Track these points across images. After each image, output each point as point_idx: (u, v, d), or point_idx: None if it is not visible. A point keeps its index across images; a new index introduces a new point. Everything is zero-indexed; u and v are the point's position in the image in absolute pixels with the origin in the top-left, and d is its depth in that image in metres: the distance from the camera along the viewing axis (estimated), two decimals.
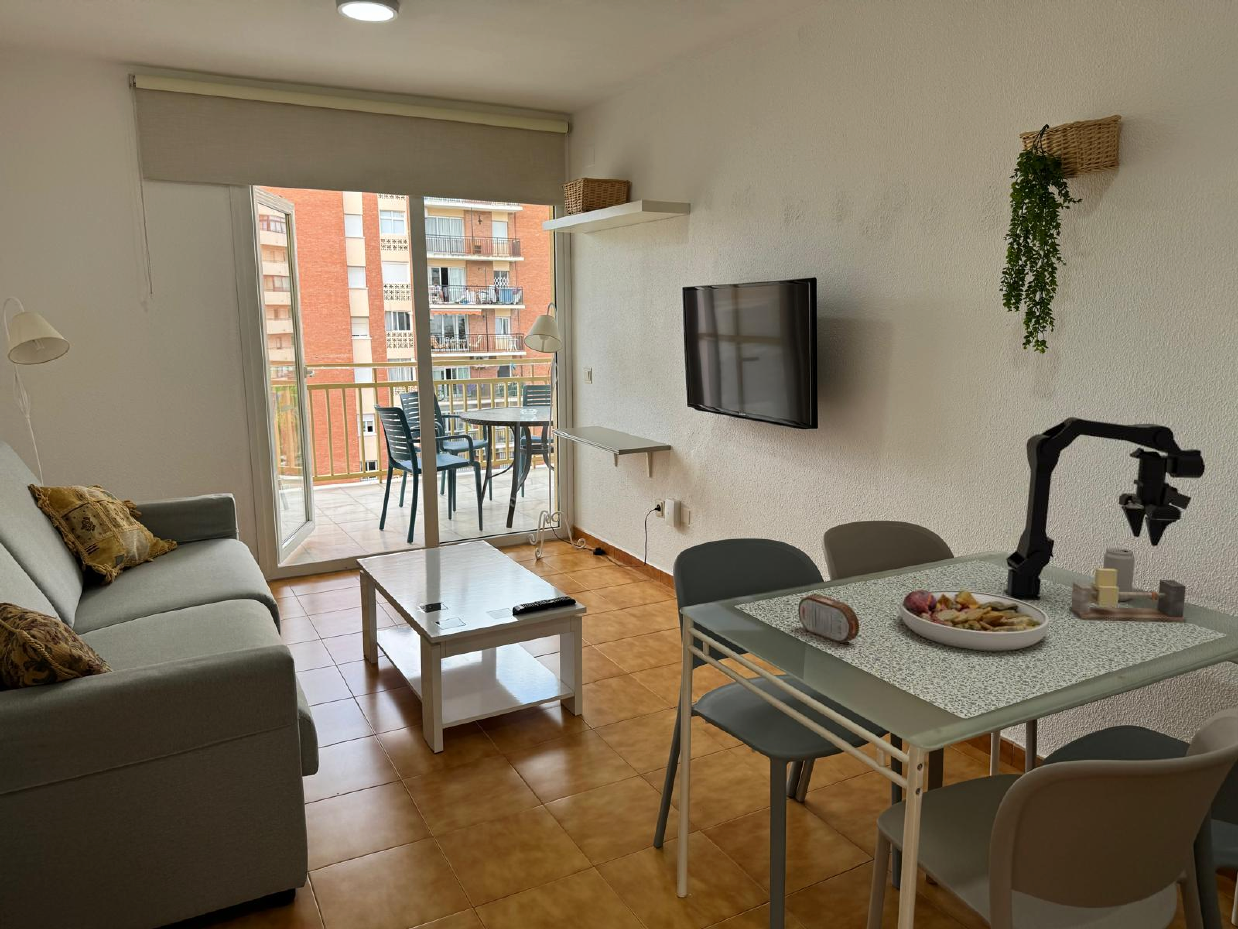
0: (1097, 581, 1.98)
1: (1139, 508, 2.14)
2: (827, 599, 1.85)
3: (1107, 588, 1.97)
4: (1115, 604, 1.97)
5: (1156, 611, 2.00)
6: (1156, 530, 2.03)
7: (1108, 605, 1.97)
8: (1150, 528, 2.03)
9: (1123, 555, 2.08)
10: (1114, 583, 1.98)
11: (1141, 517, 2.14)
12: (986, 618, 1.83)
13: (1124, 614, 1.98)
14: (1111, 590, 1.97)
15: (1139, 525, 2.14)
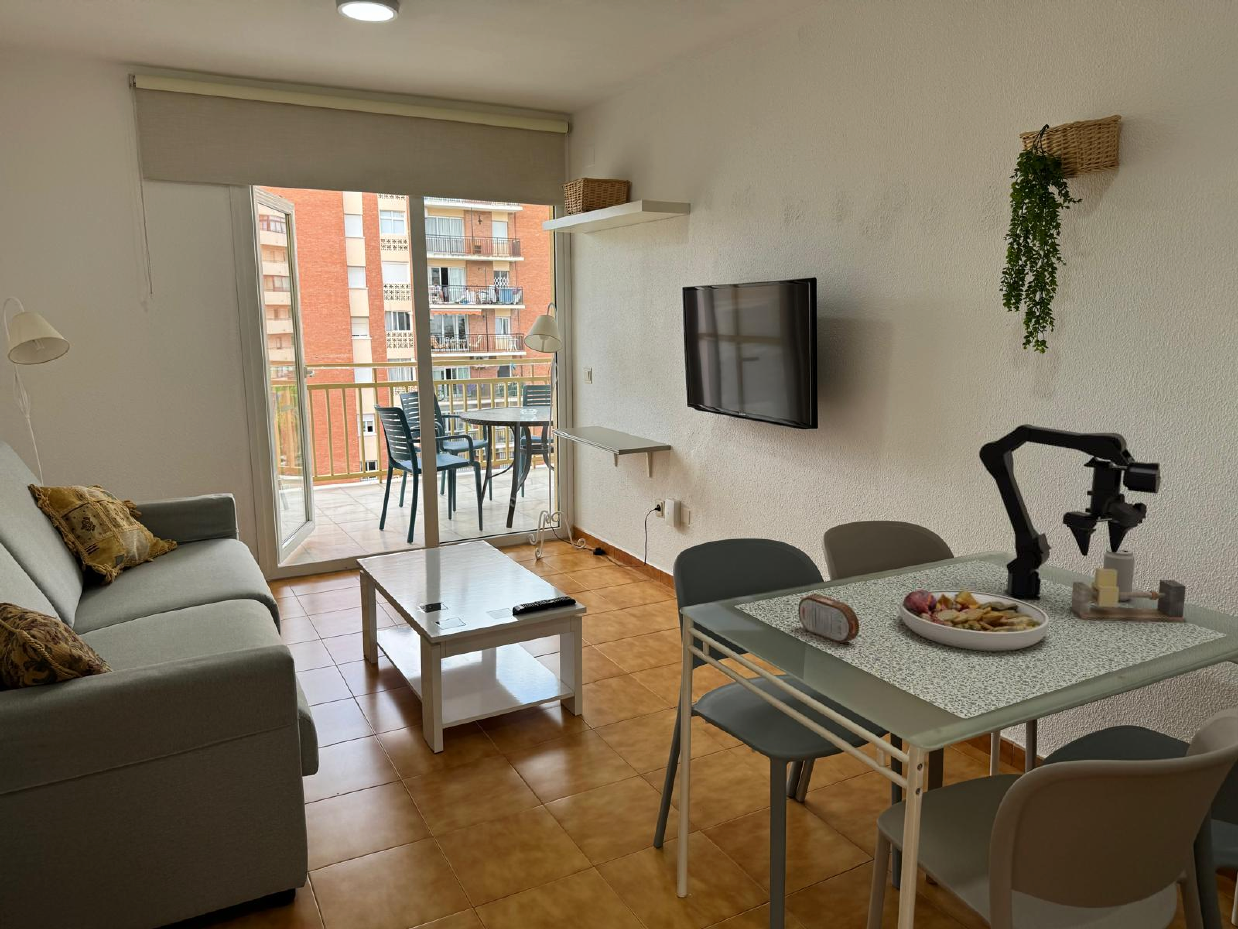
0: (1097, 581, 1.98)
1: None
2: (827, 599, 1.85)
3: (1107, 588, 1.97)
4: (1115, 604, 1.97)
5: (1156, 611, 2.00)
6: (1080, 539, 2.00)
7: (1108, 605, 1.97)
8: (1074, 535, 2.01)
9: (1123, 555, 2.08)
10: (1114, 583, 1.98)
11: (1120, 532, 2.02)
12: (986, 618, 1.83)
13: (1124, 614, 1.98)
14: (1111, 590, 1.97)
15: (1116, 540, 2.03)
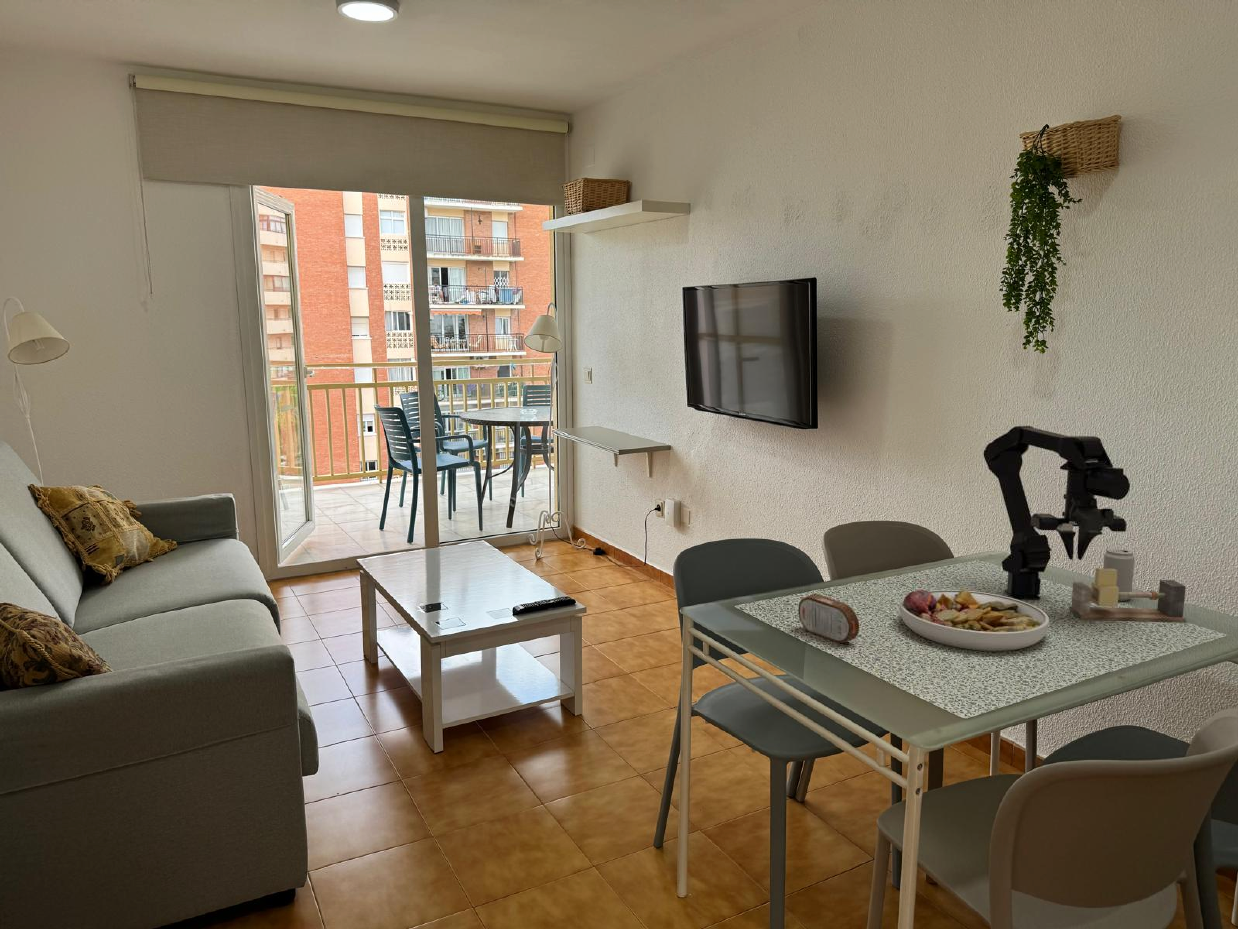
0: (1097, 581, 1.98)
1: None
2: (827, 599, 1.85)
3: (1107, 588, 1.97)
4: (1115, 604, 1.97)
5: (1156, 611, 2.00)
6: (1065, 542, 1.99)
7: (1108, 605, 1.97)
8: None
9: (1123, 555, 2.08)
10: (1114, 583, 1.98)
11: (1084, 539, 1.97)
12: (986, 618, 1.83)
13: (1124, 614, 1.98)
14: (1111, 590, 1.97)
15: (1081, 547, 1.98)
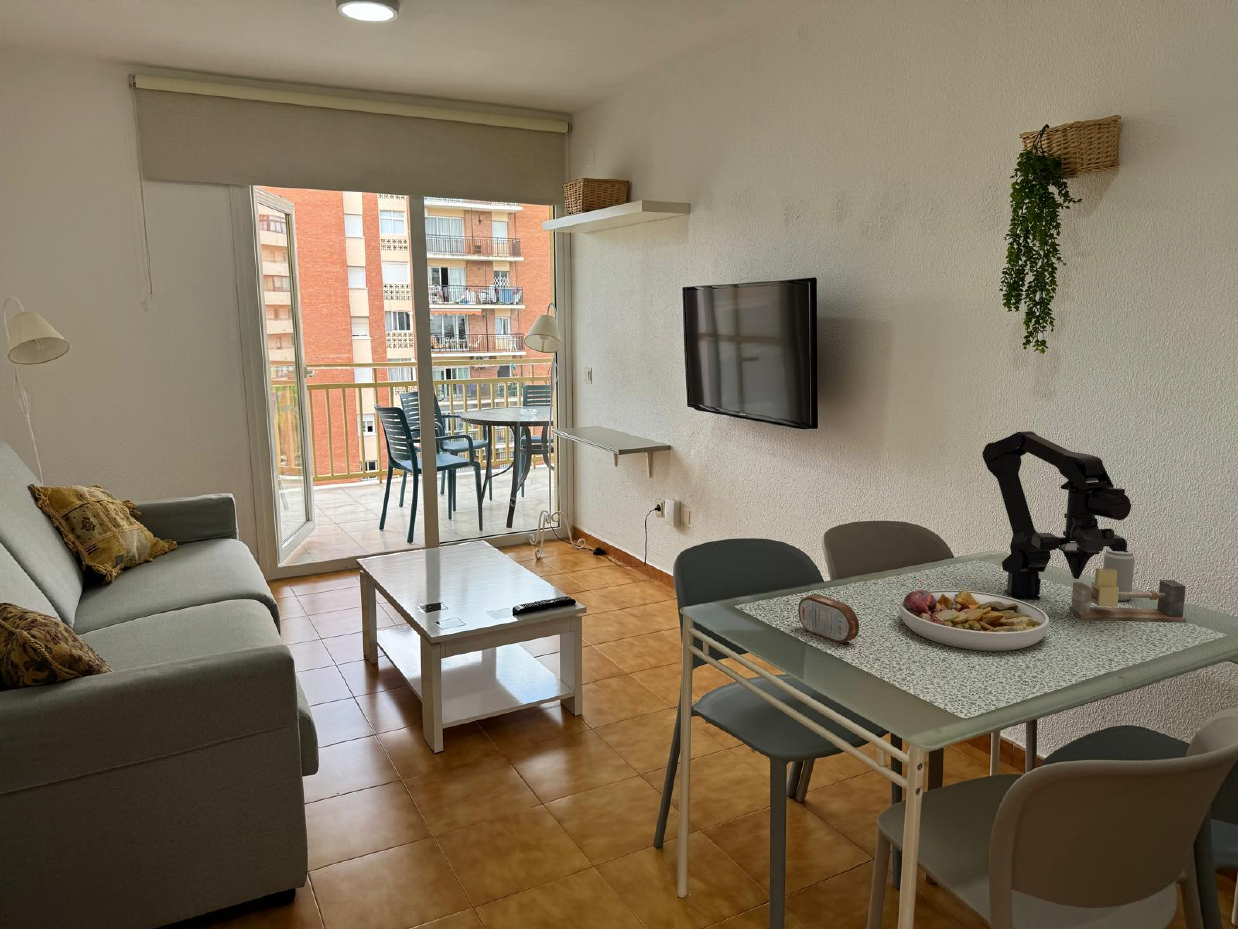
0: (1097, 581, 1.98)
1: None
2: (827, 599, 1.85)
3: (1107, 588, 1.97)
4: (1115, 604, 1.97)
5: (1156, 611, 2.00)
6: (1069, 561, 1.99)
7: (1108, 605, 1.97)
8: None
9: (1123, 555, 2.08)
10: (1114, 583, 1.98)
11: (1082, 558, 1.97)
12: (986, 618, 1.83)
13: (1124, 614, 1.98)
14: (1111, 590, 1.97)
15: (1078, 566, 1.98)
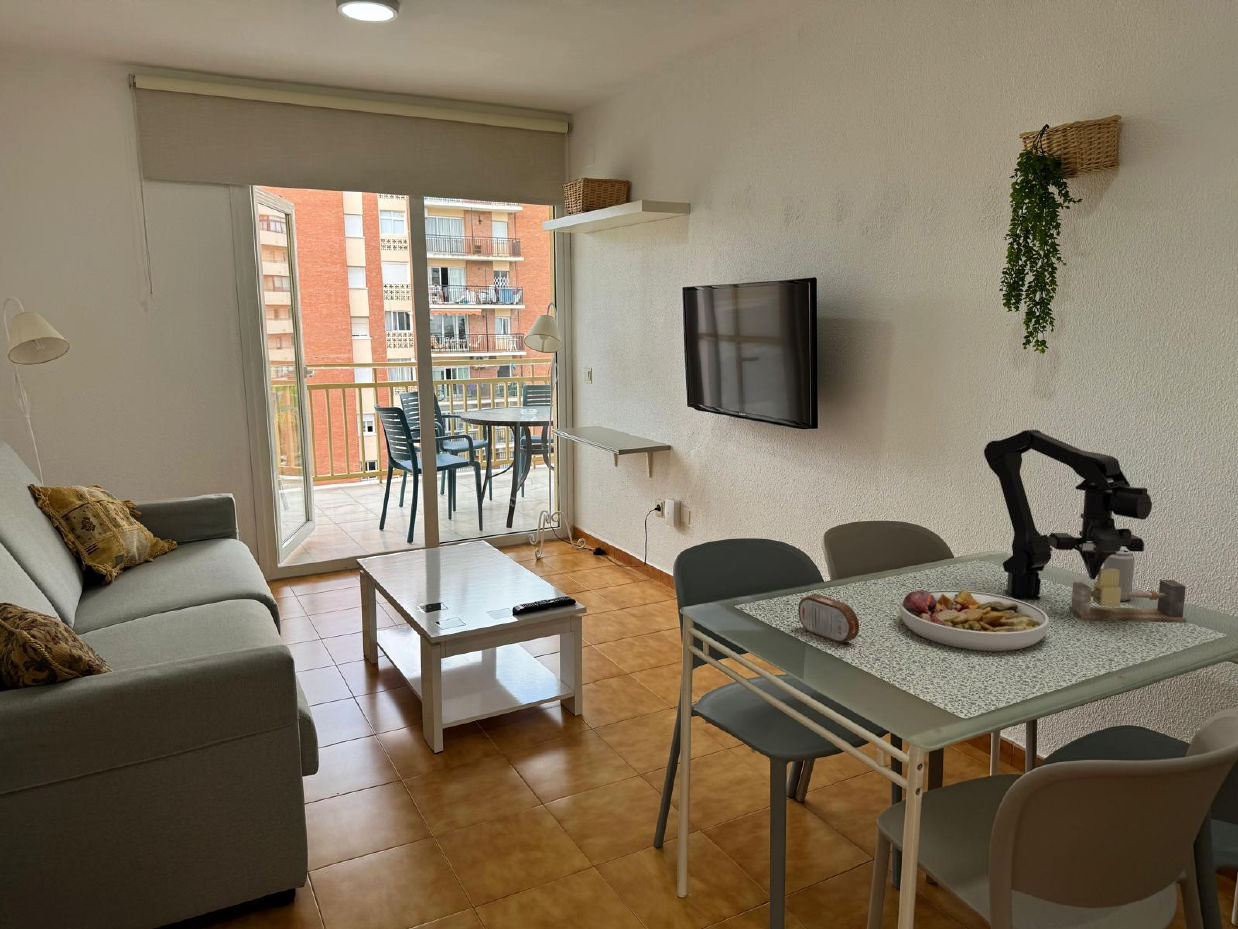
0: (1099, 581, 1.98)
1: (1099, 549, 1.97)
2: (827, 599, 1.85)
3: (1109, 588, 1.97)
4: (1117, 604, 1.97)
5: (1156, 611, 2.00)
6: (1086, 561, 1.99)
7: (1110, 605, 1.97)
8: (1082, 557, 2.00)
9: (1123, 555, 2.08)
10: (1116, 583, 1.98)
11: (1098, 559, 1.97)
12: (986, 618, 1.83)
13: (1124, 614, 1.98)
14: (1113, 590, 1.96)
15: (1094, 567, 1.98)
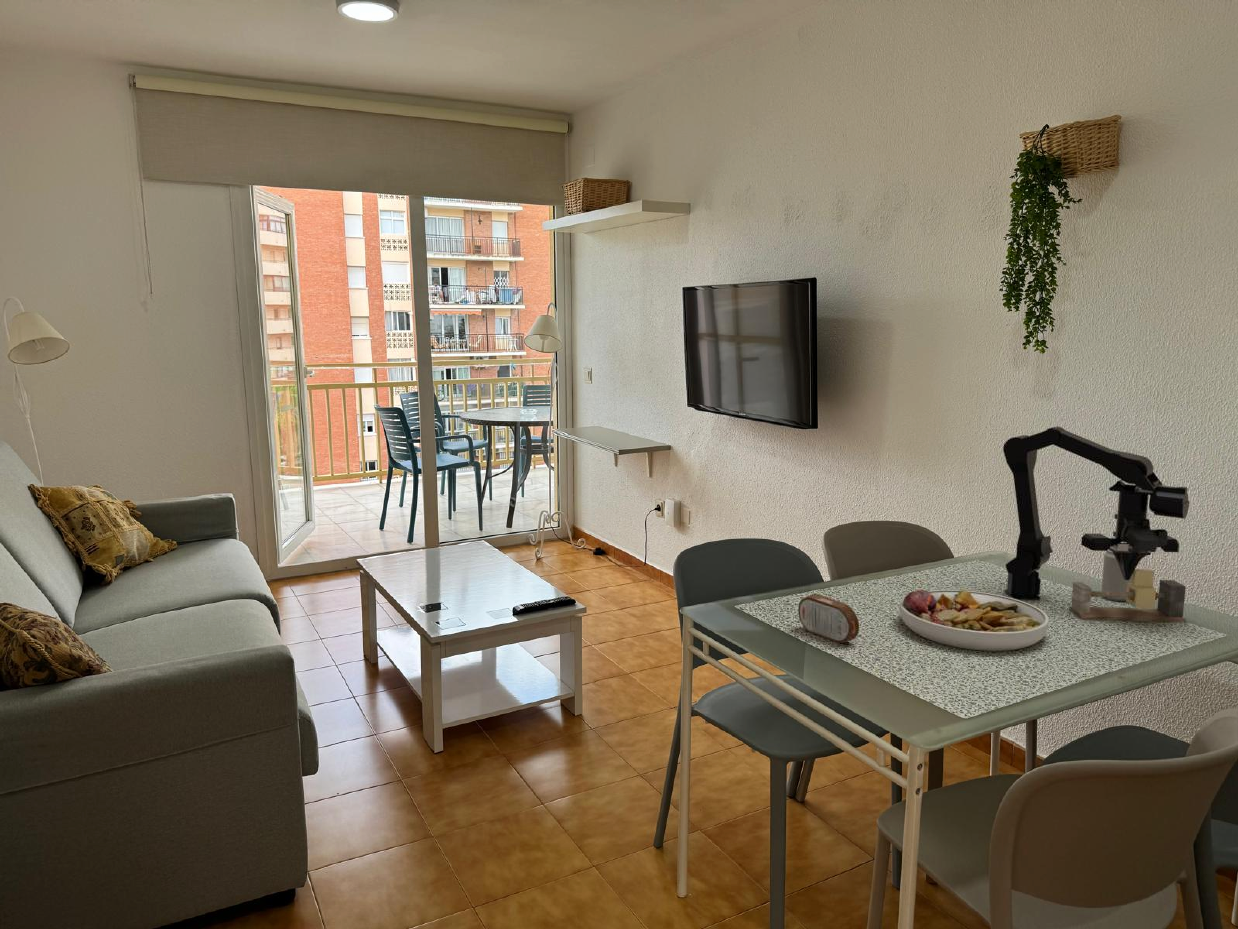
0: (1134, 582, 1.97)
1: (1134, 550, 1.96)
2: (827, 599, 1.85)
3: (1144, 589, 1.96)
4: (1152, 605, 1.96)
5: (1156, 611, 2.00)
6: (1120, 562, 1.98)
7: (1145, 606, 1.96)
8: (1116, 558, 1.99)
9: None
10: (1151, 584, 1.97)
11: (1132, 559, 1.96)
12: (986, 618, 1.83)
13: (1124, 614, 1.98)
14: (1148, 591, 1.96)
15: (1129, 567, 1.97)
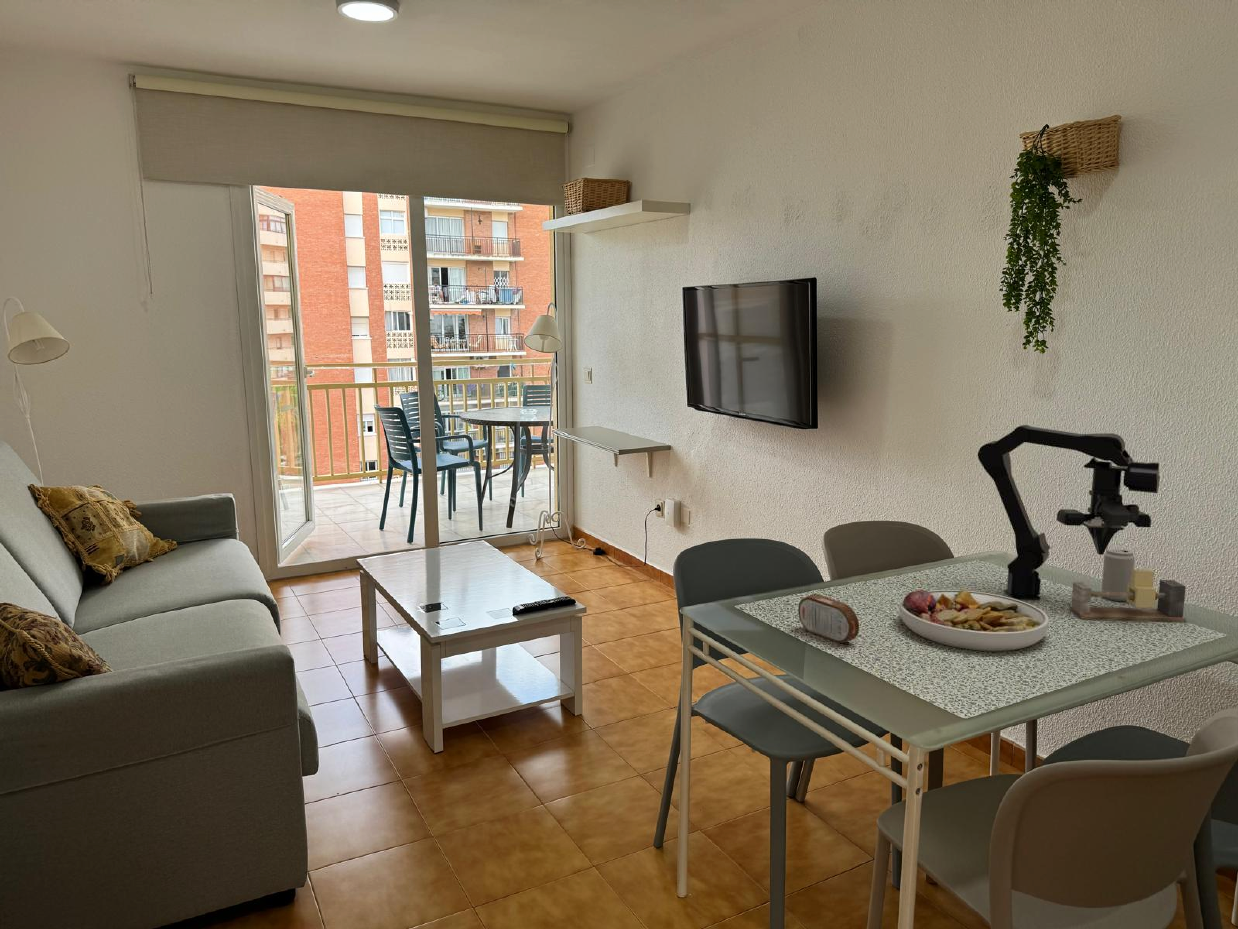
0: (1134, 582, 1.97)
1: (1107, 525, 2.02)
2: (827, 599, 1.85)
3: (1144, 589, 1.96)
4: (1152, 605, 1.96)
5: (1156, 611, 2.00)
6: (1094, 537, 2.03)
7: (1145, 606, 1.96)
8: (1090, 533, 2.05)
9: (1123, 555, 2.08)
10: (1151, 584, 1.97)
11: (1106, 534, 2.02)
12: (986, 618, 1.83)
13: (1124, 614, 1.98)
14: (1148, 591, 1.96)
15: (1102, 542, 2.02)
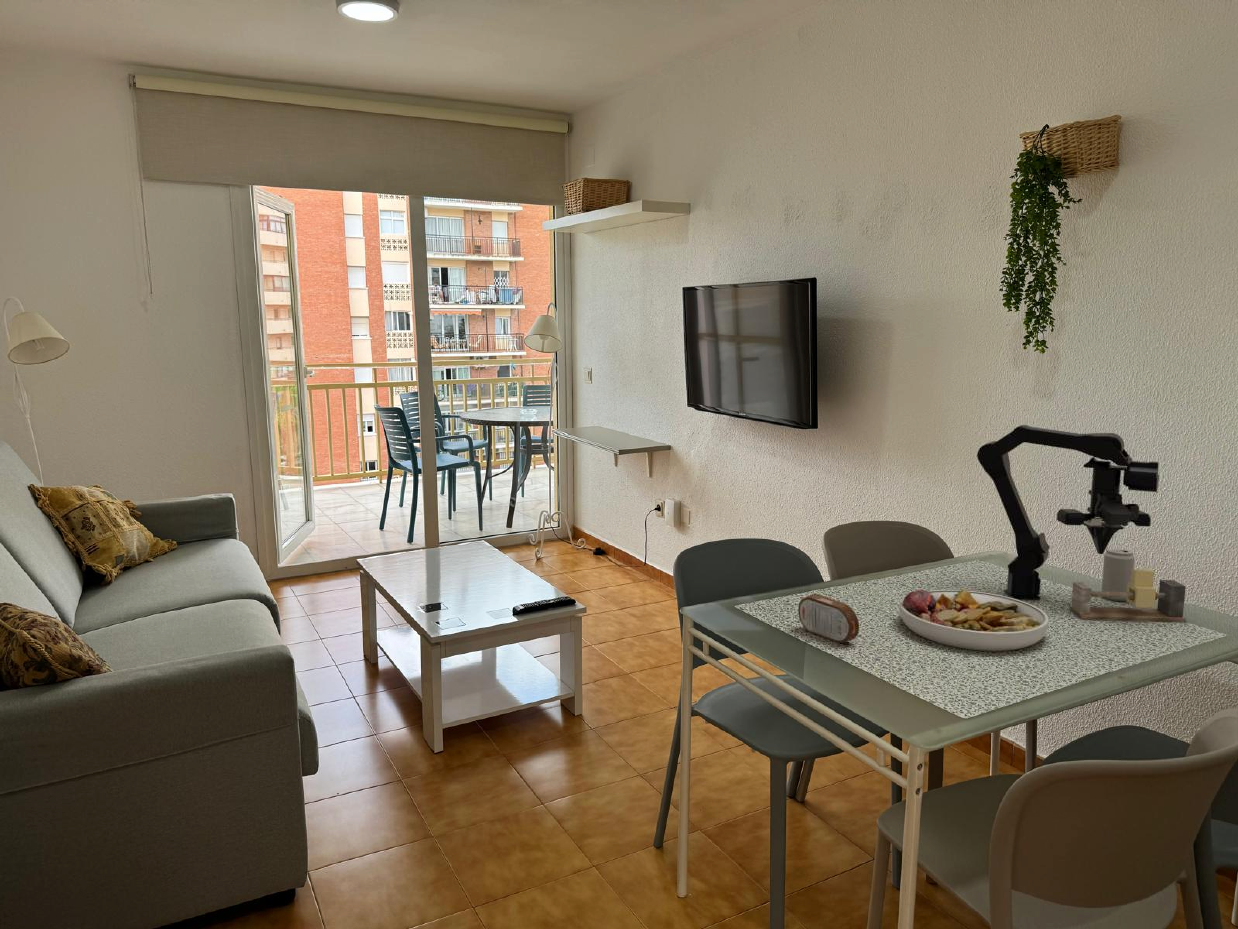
0: (1134, 582, 1.97)
1: (1107, 524, 2.02)
2: (827, 599, 1.85)
3: (1144, 589, 1.96)
4: (1152, 605, 1.96)
5: (1156, 611, 2.00)
6: (1094, 537, 2.04)
7: (1145, 606, 1.96)
8: (1090, 533, 2.05)
9: (1123, 555, 2.08)
10: (1151, 584, 1.97)
11: (1106, 534, 2.02)
12: (986, 618, 1.83)
13: (1124, 614, 1.98)
14: (1148, 591, 1.96)
15: (1102, 542, 2.03)
